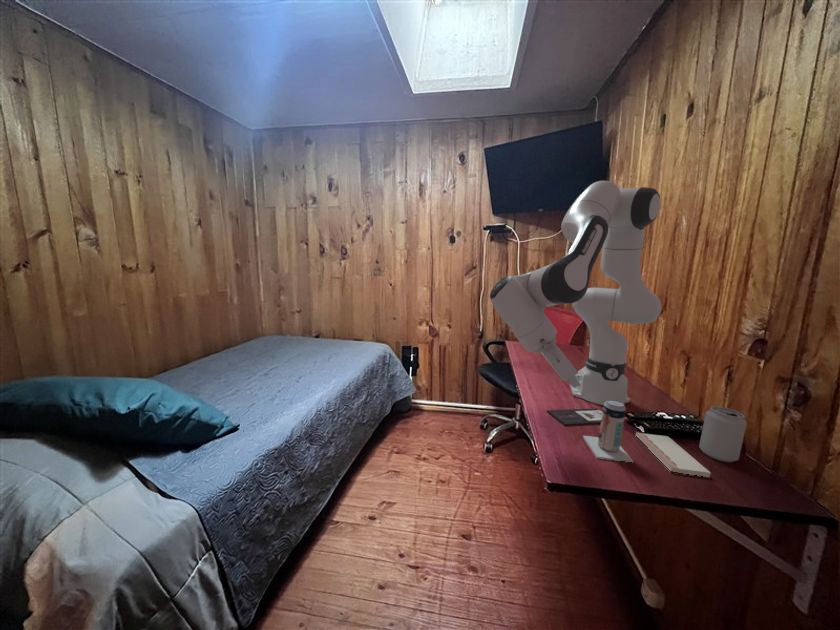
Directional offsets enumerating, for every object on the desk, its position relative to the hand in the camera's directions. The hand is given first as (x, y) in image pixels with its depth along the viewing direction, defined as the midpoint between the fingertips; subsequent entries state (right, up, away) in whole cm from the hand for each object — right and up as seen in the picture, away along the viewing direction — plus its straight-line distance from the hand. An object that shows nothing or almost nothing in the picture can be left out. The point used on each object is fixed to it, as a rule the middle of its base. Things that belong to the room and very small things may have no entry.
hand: (570, 377), depth 82 cm
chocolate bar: (+12, -16, +18) cm, 27 cm away
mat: (+9, -18, +1) cm, 21 cm away
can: (+38, -20, +1) cm, 43 cm away
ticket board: (+24, -19, 0) cm, 31 cm away
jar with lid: (+10, -18, 0) cm, 21 cm away
